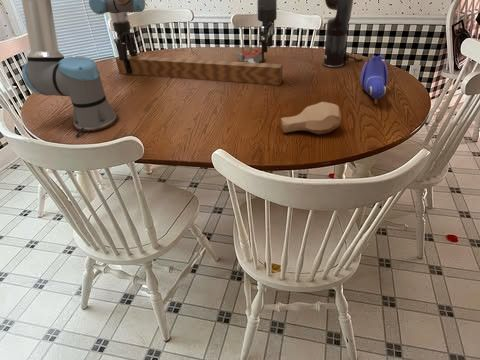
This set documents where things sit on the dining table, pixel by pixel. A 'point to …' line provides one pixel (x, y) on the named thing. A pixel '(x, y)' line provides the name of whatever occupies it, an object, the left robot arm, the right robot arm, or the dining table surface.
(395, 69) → the dining table surface
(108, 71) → the dining table surface
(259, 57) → the tape dispenser
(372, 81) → the toy
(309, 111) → the squash
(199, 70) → the bar
